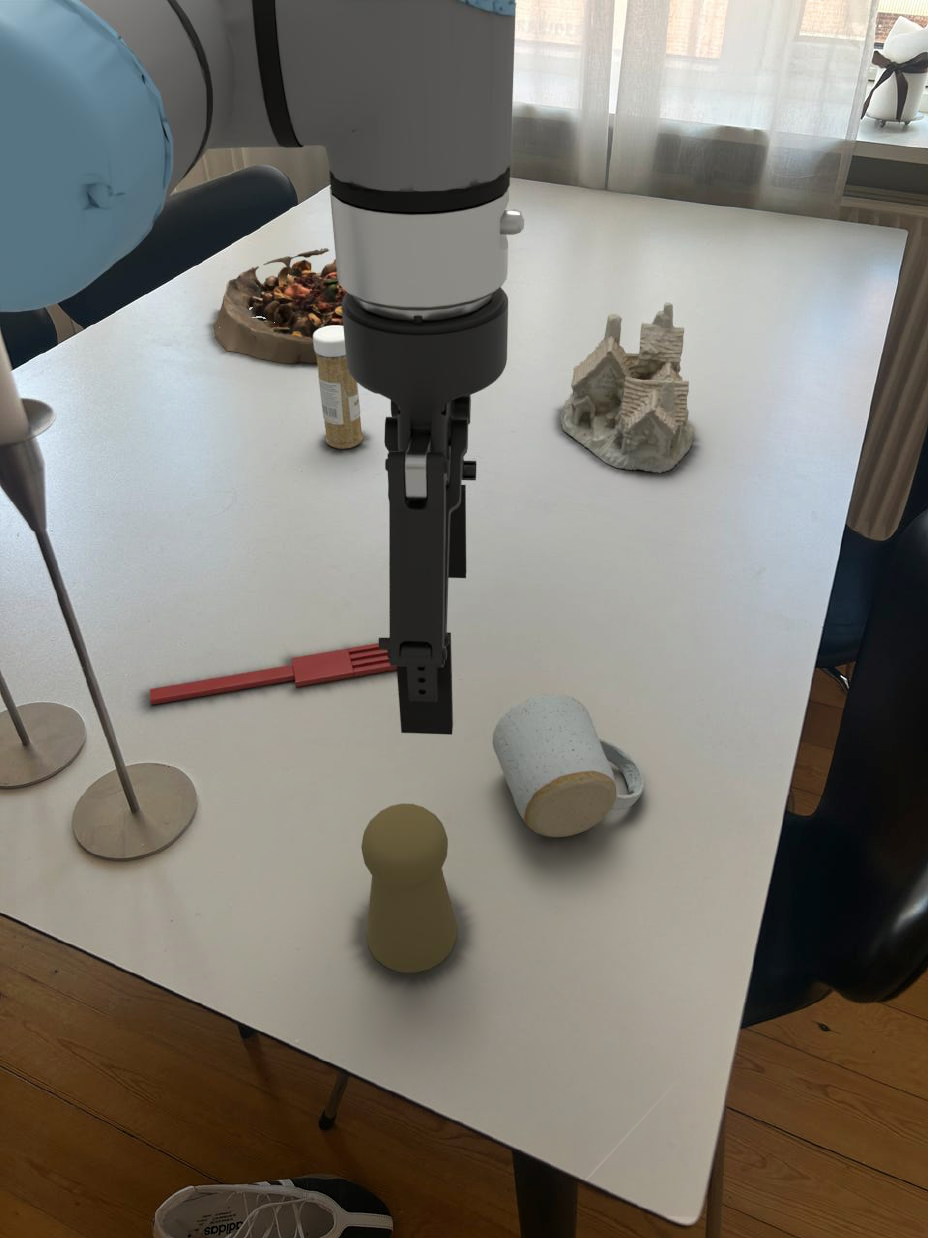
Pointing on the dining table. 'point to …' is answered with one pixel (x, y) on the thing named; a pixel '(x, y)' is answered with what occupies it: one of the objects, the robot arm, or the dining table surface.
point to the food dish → (280, 311)
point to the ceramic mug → (561, 766)
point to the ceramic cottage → (632, 398)
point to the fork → (286, 673)
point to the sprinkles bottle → (337, 389)
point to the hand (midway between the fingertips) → (437, 645)
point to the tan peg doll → (408, 889)
